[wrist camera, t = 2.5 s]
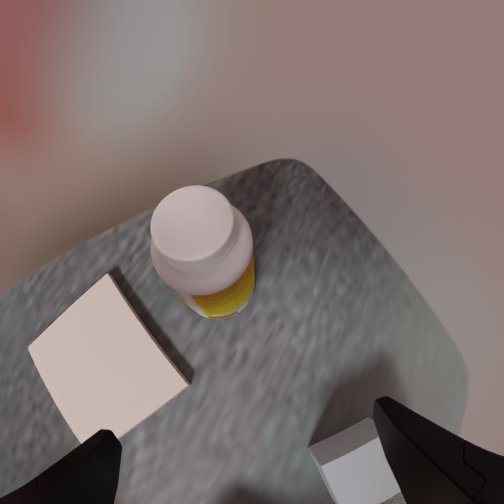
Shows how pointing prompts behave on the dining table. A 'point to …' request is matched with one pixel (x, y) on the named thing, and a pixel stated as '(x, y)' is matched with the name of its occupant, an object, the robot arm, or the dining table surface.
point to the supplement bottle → (204, 251)
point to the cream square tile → (104, 364)
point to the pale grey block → (355, 465)
